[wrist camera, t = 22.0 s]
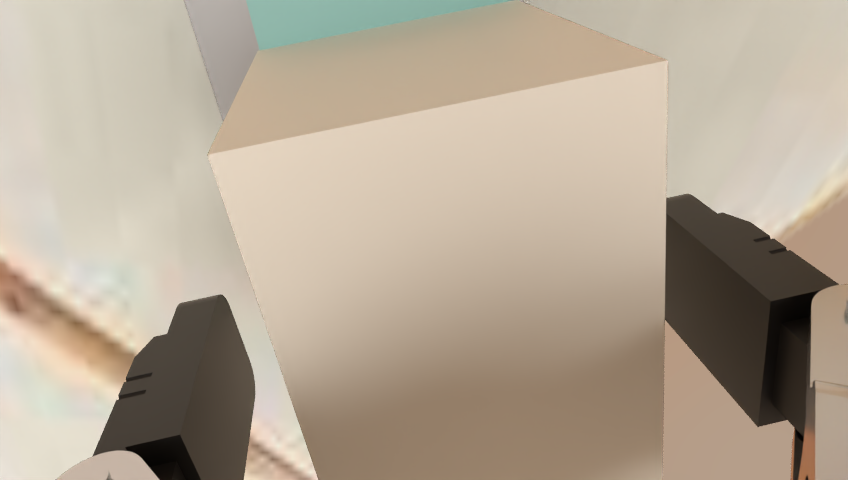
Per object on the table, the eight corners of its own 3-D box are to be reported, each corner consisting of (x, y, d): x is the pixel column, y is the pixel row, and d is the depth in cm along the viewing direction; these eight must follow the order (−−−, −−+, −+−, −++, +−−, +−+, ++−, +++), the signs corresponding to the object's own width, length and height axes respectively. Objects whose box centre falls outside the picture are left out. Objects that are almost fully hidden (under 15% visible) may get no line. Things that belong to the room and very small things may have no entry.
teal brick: (443, -148, 16) (503, -181, 11) (484, 178, 20) (542, 270, 15) (247, -113, 16) (210, -129, 11) (329, 211, 20) (332, 315, 15)
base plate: (505, -104, 23) (514, -105, 22) (533, 194, 29) (541, 204, 28) (178, -42, 23) (171, -40, 22) (271, 250, 28) (269, 263, 27)
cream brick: (516, 0, 12) (667, 61, 7) (551, 367, 16) (661, 582, 11) (257, 51, 12) (206, 155, 7) (359, 411, 16) (377, 653, 11)
